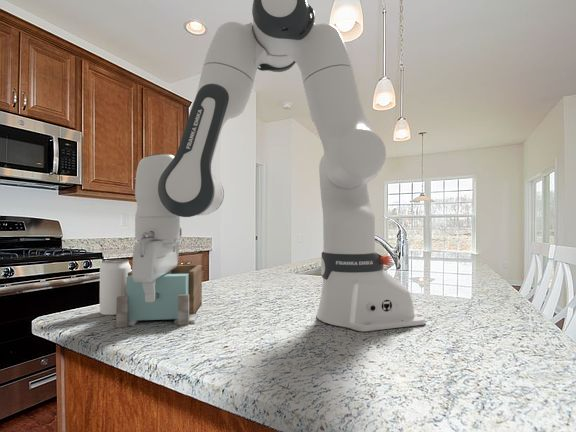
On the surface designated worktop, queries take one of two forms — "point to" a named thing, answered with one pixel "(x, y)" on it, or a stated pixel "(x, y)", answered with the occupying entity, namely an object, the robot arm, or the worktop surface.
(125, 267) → the can
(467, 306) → the worktop surface
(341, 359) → the worktop surface
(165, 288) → the door
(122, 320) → the cabinet
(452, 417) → the worktop surface
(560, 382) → the worktop surface
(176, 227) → the robot arm
